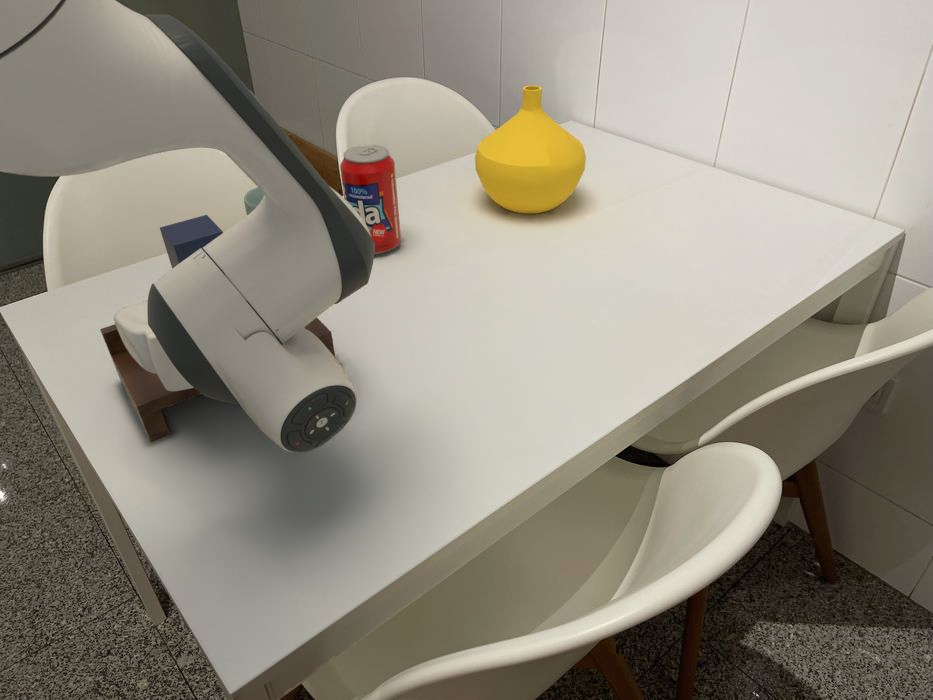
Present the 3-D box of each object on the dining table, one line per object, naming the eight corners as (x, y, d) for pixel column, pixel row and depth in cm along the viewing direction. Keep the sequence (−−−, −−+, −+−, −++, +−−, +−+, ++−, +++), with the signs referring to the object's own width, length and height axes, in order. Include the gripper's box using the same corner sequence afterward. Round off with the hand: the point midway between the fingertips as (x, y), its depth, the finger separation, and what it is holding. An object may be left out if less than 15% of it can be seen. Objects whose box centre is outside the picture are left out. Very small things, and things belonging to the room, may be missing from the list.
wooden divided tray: (150, 442, 74) (127, 383, 69) (122, 384, 82) (99, 328, 77) (337, 365, 84) (327, 310, 79) (295, 321, 92) (285, 268, 87)
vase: (453, 204, 120) (449, 91, 109) (520, 172, 131) (522, 66, 120) (538, 236, 110) (543, 114, 99) (602, 198, 121) (614, 85, 110)
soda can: (411, 241, 110) (404, 148, 101) (380, 262, 104) (369, 166, 95) (373, 230, 113) (362, 139, 104) (340, 249, 108) (327, 155, 99)
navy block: (205, 351, 77) (173, 245, 69) (191, 330, 80) (159, 227, 72) (249, 335, 79) (222, 231, 71) (233, 315, 82) (206, 214, 74)
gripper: (342, 270, 69) (285, 221, 79) (129, 343, 60) (93, 278, 69) (350, 323, 73) (295, 270, 82) (150, 399, 64) (114, 330, 73)
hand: (201, 274), depth 76 cm, fingers closed on navy block, 5 cm apart
